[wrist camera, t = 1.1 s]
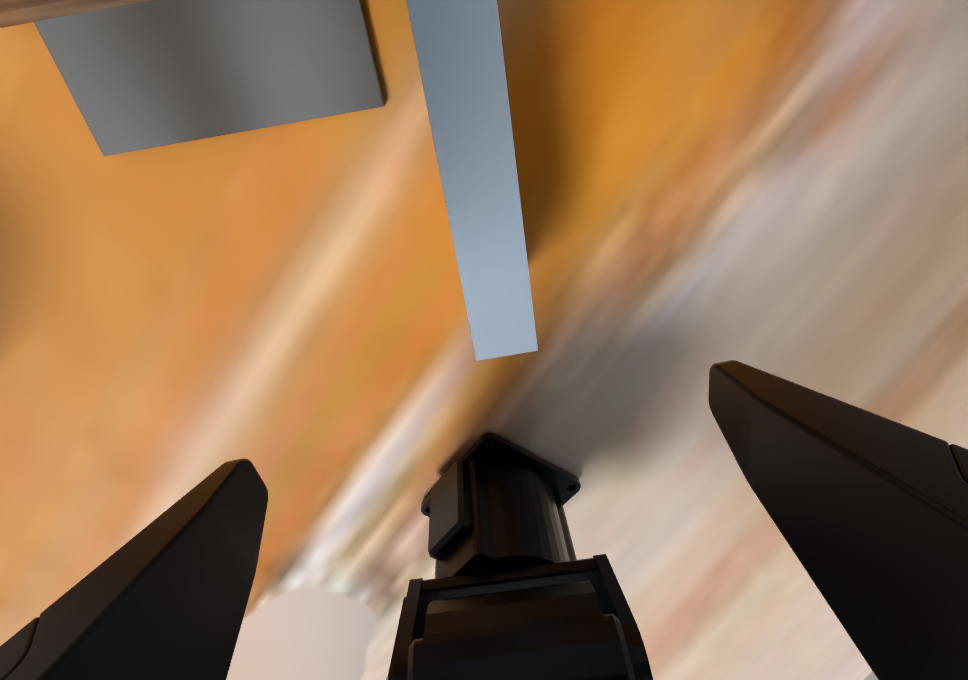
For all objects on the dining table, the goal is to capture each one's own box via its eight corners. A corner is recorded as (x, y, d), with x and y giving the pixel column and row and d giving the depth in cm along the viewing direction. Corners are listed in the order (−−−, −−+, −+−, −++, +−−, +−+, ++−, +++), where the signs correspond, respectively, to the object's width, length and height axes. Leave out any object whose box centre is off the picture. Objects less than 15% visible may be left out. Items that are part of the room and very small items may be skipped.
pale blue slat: (403, -71, 15) (378, -142, 10) (467, -83, 15) (478, -161, 10) (469, 286, 21) (476, 360, 16) (515, 278, 21) (537, 350, 16)
